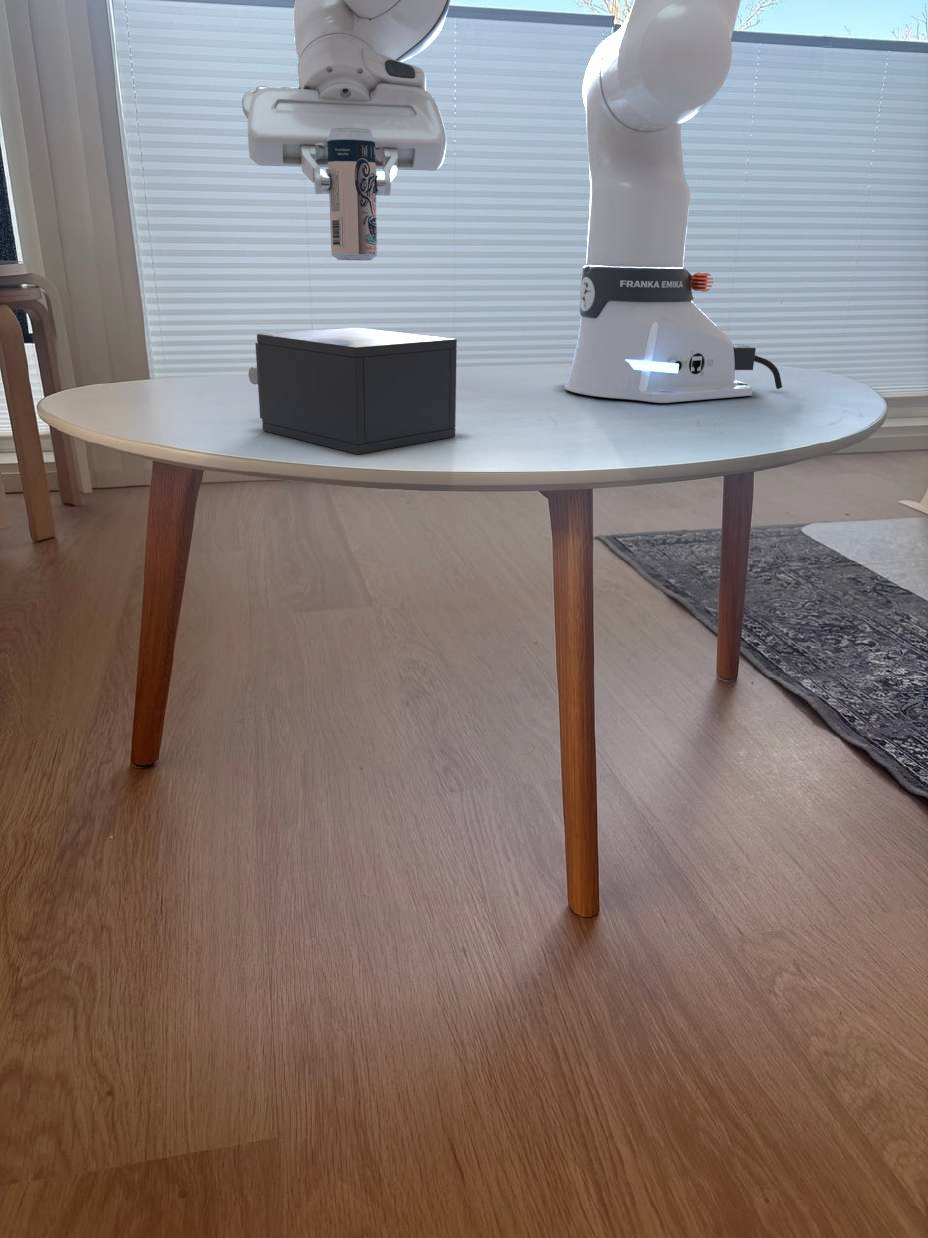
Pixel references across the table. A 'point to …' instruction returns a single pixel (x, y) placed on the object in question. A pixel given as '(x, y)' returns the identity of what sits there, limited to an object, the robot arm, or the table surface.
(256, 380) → the drawer
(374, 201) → the beer can
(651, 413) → the table surface
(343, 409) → the dark grey storage box
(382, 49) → the robot arm
